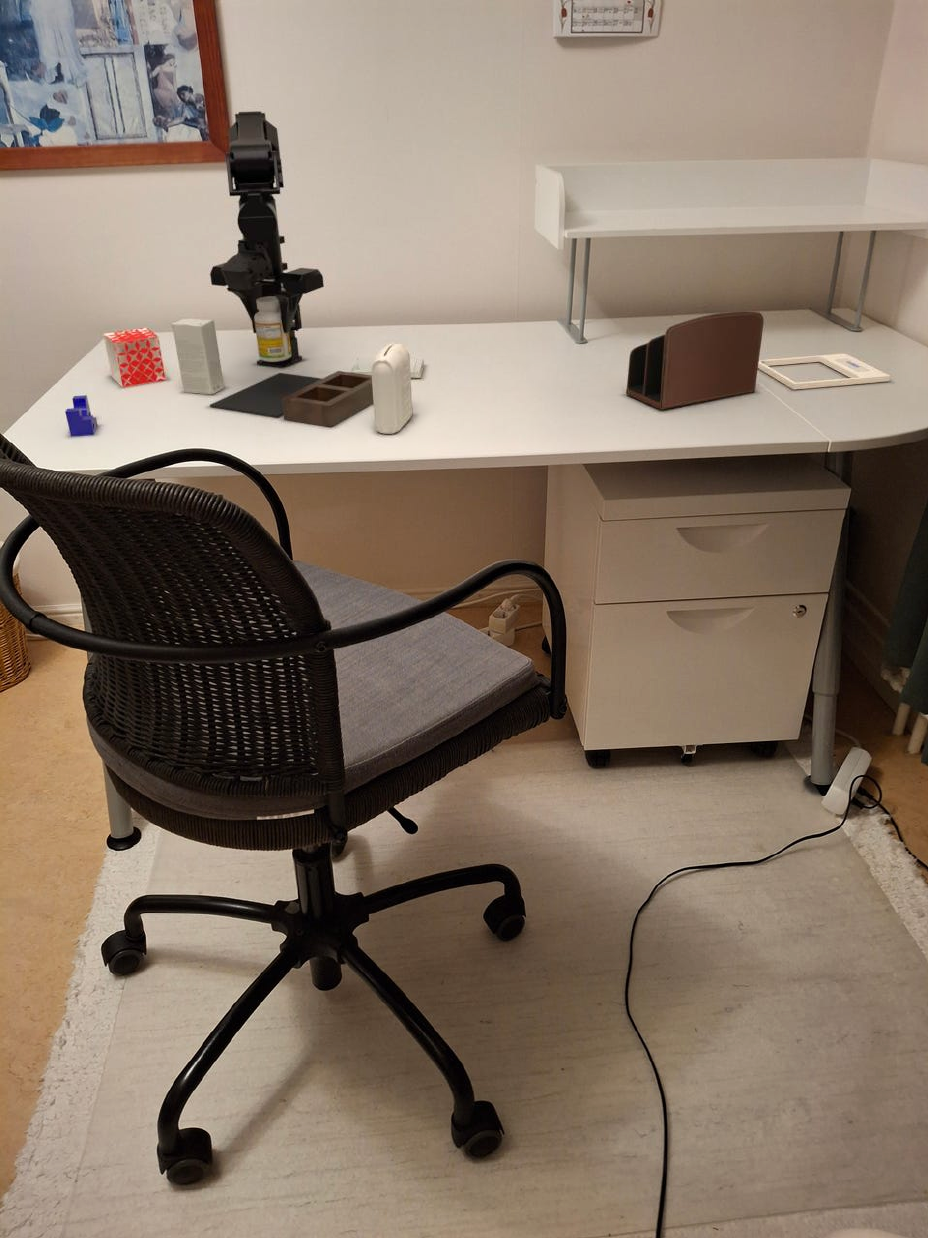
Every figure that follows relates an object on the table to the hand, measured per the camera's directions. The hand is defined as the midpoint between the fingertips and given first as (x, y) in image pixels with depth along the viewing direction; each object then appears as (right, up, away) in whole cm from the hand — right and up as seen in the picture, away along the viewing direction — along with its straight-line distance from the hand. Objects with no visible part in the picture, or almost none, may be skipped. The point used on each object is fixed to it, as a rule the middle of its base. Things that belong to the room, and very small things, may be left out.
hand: (272, 330), depth 161 cm
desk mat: (0, -9, +7) cm, 11 cm away
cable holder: (-29, -17, -6) cm, 34 cm away
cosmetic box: (-14, -8, +10) cm, 19 cm away
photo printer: (+21, -17, -7) cm, 28 cm away
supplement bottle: (0, -4, +2) cm, 5 cm away
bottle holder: (+11, -13, 0) cm, 17 cm away
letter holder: (+70, -10, +3) cm, 71 cm away
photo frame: (+95, -4, +11) cm, 96 cm away
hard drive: (+18, -3, +17) cm, 25 cm away
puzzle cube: (-28, -4, +17) cm, 33 cm away
